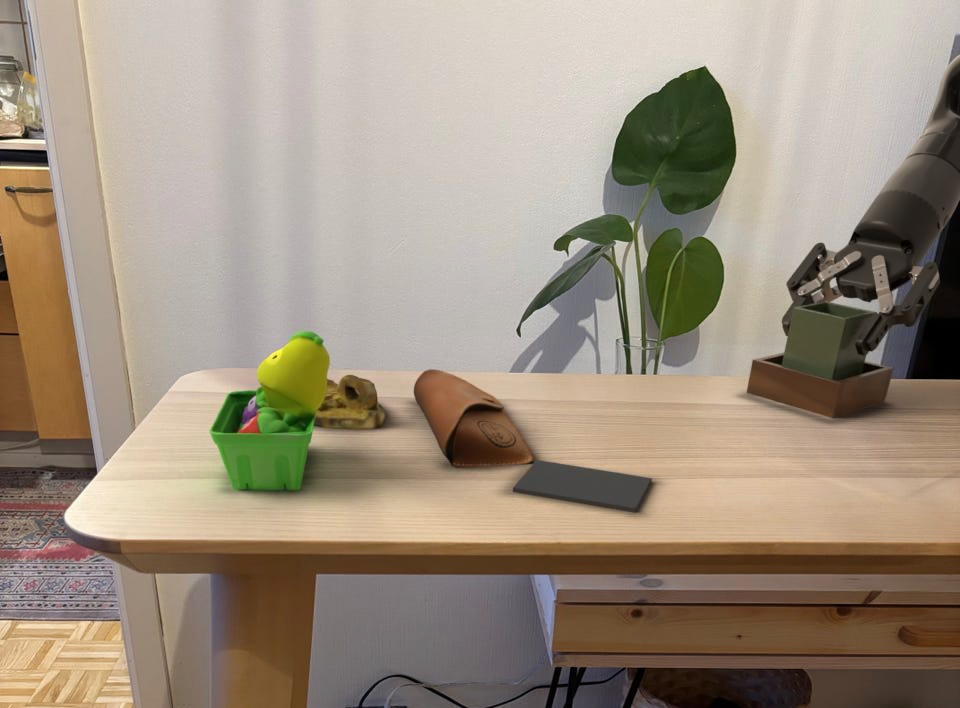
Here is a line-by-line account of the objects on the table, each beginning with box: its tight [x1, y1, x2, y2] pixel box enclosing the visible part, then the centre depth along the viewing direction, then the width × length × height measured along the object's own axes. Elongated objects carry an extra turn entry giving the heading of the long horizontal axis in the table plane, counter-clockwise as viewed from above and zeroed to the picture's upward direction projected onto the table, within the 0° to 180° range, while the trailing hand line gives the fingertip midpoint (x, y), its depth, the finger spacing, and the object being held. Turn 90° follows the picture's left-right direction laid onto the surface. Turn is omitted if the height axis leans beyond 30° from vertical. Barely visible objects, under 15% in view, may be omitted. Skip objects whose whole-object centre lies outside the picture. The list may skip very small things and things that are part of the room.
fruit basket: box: [209, 330, 331, 491], centre depth 76 cm, size 11×9×11 cm
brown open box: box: [746, 352, 895, 419], centre depth 101 cm, size 10×10×4 cm
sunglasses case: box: [413, 368, 535, 468], centre depth 88 cm, size 18×7×7 cm
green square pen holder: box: [782, 301, 878, 381], centre depth 100 cm, size 6×6×9 cm
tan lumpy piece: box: [314, 374, 386, 430], centre depth 92 cm, size 9×5×15 cm
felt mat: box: [512, 459, 653, 514], centre depth 78 cm, size 10×7×1 cm
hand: (822, 341), depth 98 cm, fingers open, 8 cm apart
